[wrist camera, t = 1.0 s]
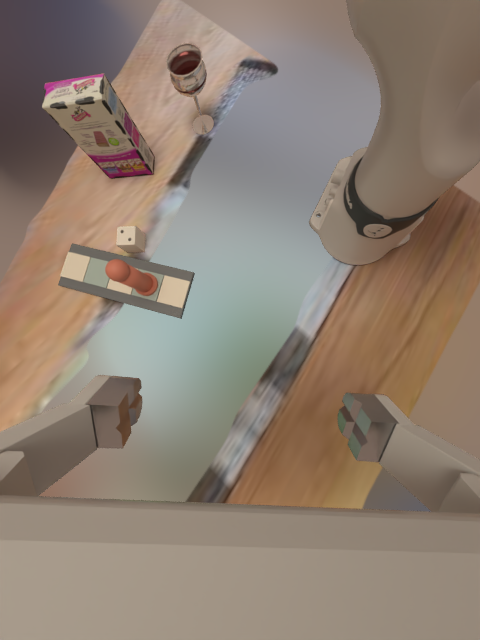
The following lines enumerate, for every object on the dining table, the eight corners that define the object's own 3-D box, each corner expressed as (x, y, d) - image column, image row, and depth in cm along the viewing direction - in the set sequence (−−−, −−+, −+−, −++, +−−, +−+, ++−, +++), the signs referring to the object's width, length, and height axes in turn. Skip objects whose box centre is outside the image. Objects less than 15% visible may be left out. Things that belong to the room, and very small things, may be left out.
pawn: (140, 271, 49) (102, 250, 37) (160, 276, 48) (127, 256, 37) (134, 293, 48) (93, 277, 37) (154, 298, 48) (119, 284, 36)
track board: (74, 244, 53) (70, 242, 52) (194, 273, 48) (193, 272, 47) (60, 285, 52) (56, 284, 51) (181, 318, 48) (179, 318, 47)
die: (129, 235, 51) (117, 226, 47) (145, 234, 51) (135, 225, 47) (128, 253, 51) (116, 245, 47) (144, 252, 50) (134, 244, 46)
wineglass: (206, 105, 52) (189, 35, 40) (223, 125, 51) (210, 59, 39) (183, 123, 52) (158, 59, 41) (199, 143, 51) (178, 83, 40)
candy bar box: (155, 155, 53) (104, 71, 36) (154, 175, 52) (103, 99, 36) (110, 159, 54) (42, 80, 38) (109, 179, 53) (40, 107, 37)
